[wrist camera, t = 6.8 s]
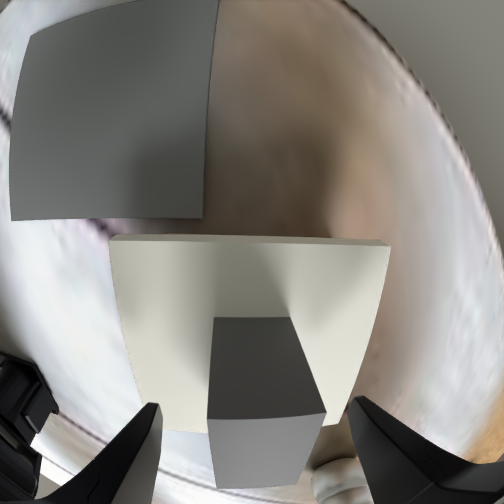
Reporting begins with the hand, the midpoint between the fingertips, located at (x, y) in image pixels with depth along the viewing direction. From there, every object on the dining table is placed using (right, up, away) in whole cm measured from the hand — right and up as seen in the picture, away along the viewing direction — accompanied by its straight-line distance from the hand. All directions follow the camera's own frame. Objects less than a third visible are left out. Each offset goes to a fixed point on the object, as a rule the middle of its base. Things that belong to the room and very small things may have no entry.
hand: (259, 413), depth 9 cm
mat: (-9, +14, +3) cm, 17 cm away
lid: (0, +1, +4) cm, 4 cm away
